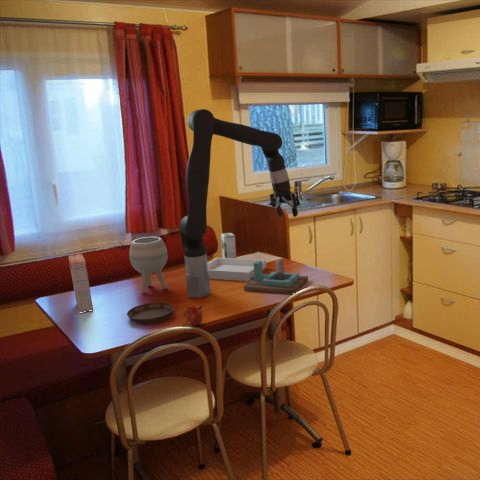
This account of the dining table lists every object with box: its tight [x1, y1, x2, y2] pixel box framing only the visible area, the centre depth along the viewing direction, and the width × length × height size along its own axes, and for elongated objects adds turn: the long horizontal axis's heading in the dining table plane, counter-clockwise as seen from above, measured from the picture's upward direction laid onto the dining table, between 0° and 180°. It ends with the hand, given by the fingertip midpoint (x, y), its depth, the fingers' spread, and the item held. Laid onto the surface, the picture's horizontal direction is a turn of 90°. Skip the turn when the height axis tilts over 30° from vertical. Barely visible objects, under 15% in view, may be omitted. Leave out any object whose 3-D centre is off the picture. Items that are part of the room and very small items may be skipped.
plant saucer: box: [126, 301, 175, 325], centre depth 205 cm, size 18×18×3 cm
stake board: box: [243, 259, 309, 295], centre depth 228 cm, size 18×22×11 cm
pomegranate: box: [182, 305, 204, 327], centre depth 194 cm, size 7×7×10 cm
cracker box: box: [68, 253, 94, 313], centre depth 219 cm, size 14×6×21 cm, turn 21°
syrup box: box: [220, 232, 237, 259], centre depth 269 cm, size 6×6×14 cm
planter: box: [128, 236, 168, 295], centre depth 235 cm, size 16×16×22 cm
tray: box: [208, 257, 267, 282], centre depth 252 cm, size 20×26×4 cm
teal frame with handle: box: [254, 261, 300, 287], centre depth 229 cm, size 12×17×8 cm
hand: (288, 216), depth 235 cm, fingers open, 8 cm apart
